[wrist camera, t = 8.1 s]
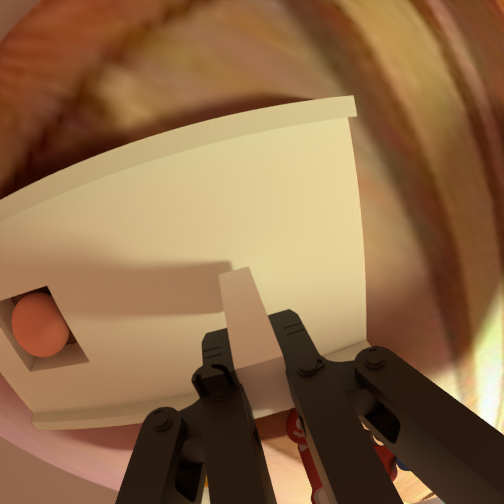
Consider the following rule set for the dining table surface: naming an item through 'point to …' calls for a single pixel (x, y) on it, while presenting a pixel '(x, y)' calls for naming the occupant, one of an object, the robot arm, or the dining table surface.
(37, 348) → the ball
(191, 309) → the board
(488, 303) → the dining table surface
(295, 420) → the toy fire truck
